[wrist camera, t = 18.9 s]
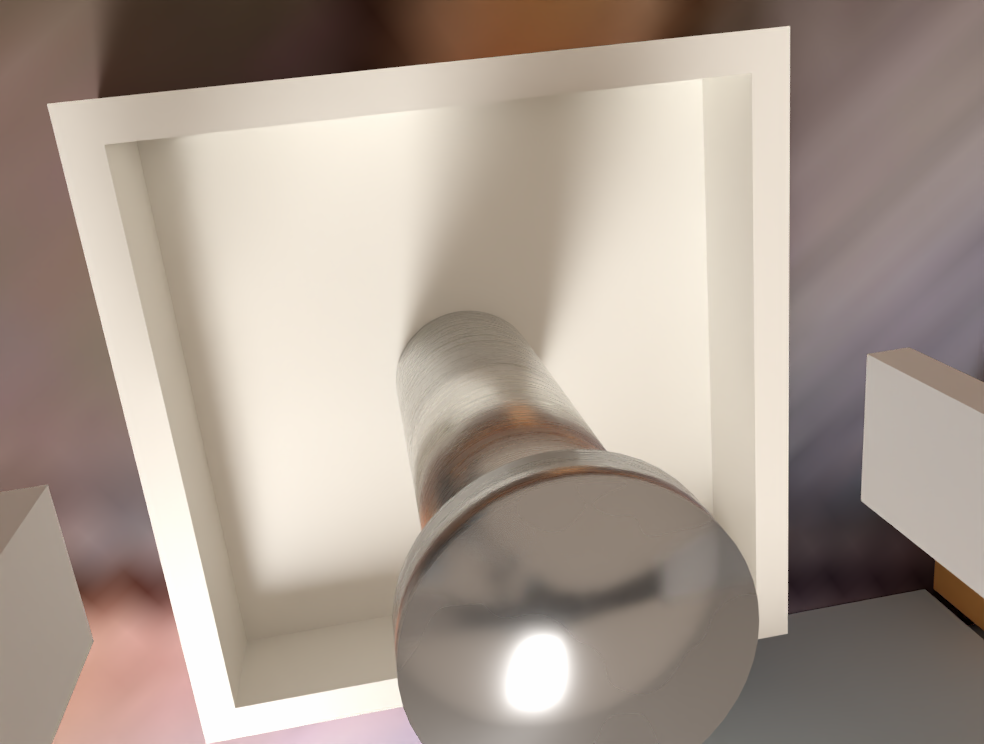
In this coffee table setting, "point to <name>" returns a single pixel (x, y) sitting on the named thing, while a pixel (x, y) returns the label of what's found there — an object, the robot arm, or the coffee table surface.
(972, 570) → the robot arm
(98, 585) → the coffee table surface
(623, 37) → the coffee table surface
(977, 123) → the coffee table surface
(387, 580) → the tray
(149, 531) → the coffee table surface
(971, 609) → the block
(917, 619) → the trolley
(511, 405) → the pin
